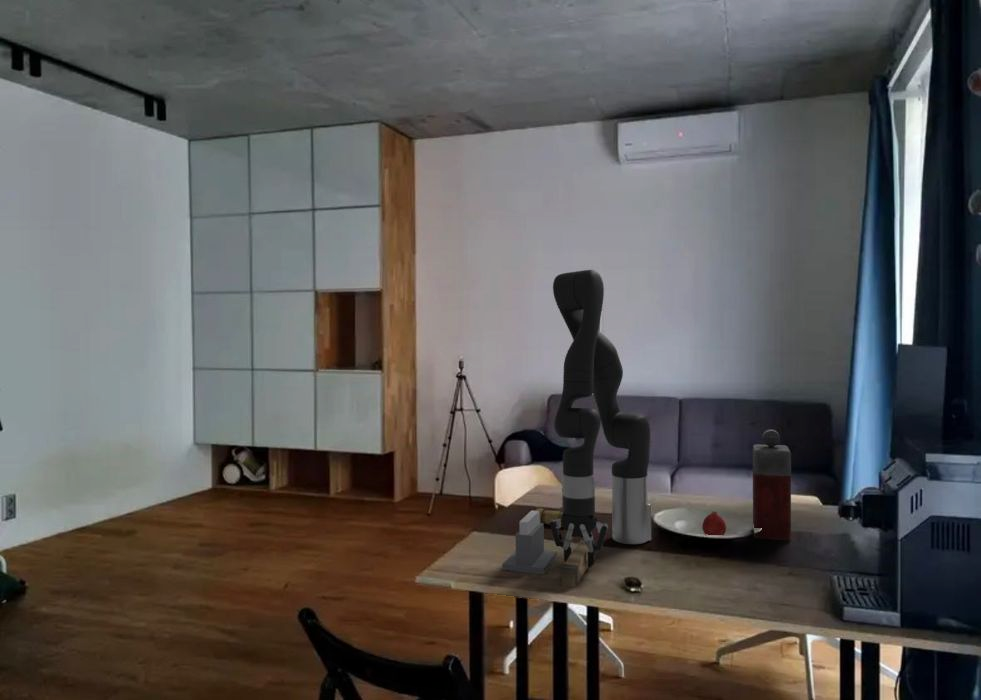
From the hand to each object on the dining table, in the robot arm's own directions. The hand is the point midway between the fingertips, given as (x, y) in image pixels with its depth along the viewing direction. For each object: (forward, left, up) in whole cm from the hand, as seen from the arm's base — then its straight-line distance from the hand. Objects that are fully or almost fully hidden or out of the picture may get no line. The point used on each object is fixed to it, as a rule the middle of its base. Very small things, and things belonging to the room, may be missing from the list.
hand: (579, 565), depth 160 cm
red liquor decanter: (-59, -9, -1) cm, 60 cm away
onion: (-41, -8, -1) cm, 42 cm away
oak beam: (0, 0, -1) cm, 1 cm away
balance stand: (+10, -7, -1) cm, 12 cm away
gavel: (-11, -41, -2) cm, 43 cm away
